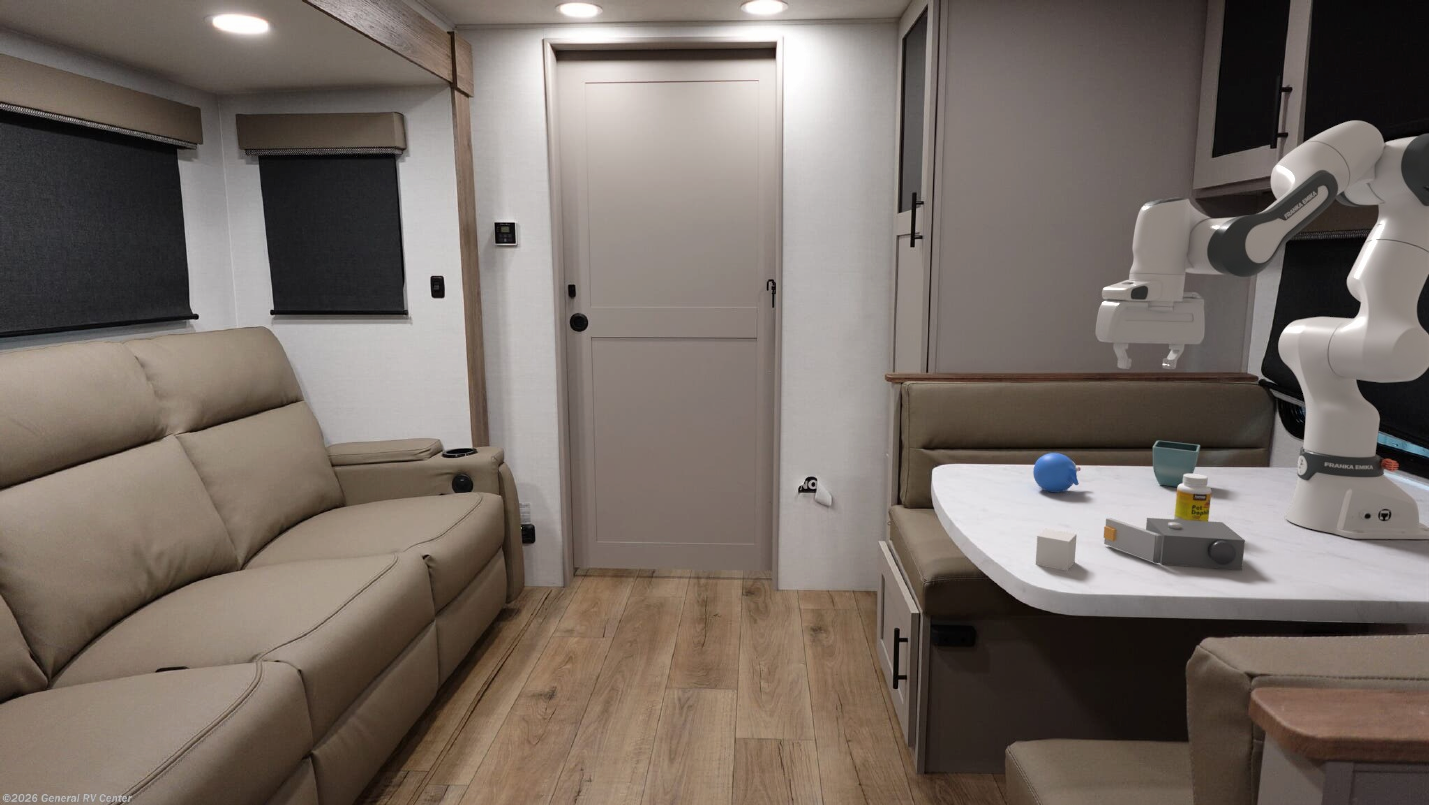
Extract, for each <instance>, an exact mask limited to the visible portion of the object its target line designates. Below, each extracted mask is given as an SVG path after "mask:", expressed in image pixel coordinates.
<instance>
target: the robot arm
mask: <svg viewBox="0 0 1429 805" xmlns="http://www.w3.org/2000/svg"><path fill="white" fill-rule="evenodd" d="M1270 187H1271V191H1272V193H1273V195H1274V197H1275V199H1276V200H1274V202H1273V203H1271V204H1270V205H1269V206H1268V207H1267V208H1265V209H1264V210H1263V211H1260V212H1258V213H1255V214H1249V215H1248V214H1247V215H1240V216H1235V217H1222V218H1221V217H1219V218H1212V217H1210V216H1208V215H1206V214H1204V213H1202V212H1201V211H1199V210H1198V209H1196V207H1194V206H1193V204H1191V201H1190V198H1187V197H1184V196H1179V197H1170V198H1161V199H1156V200H1155V199H1154V200H1150V201H1148V202H1145V203H1144V204H1143V205H1142V206H1141V208H1140V210H1139V211H1138V214H1137V217H1136V222H1135V227H1134V233H1133V239H1132V249H1131V250H1132V254H1133V262H1132V264H1131V268H1130V270H1129V277H1128V279H1126V280H1123V281H1119V282H1117V283H1114V284H1111V285H1107V286H1105V287H1103V288H1102V291H1101V298H1102V299H1103V300H1104V301H1102V302H1101V304H1100V306H1099V308H1098V310H1097V311H1098V313H1097V317H1096V324H1095V337H1096V338H1097V340H1098V341H1099V342H1102V343H1113V347H1112V348H1113V349H1112V350H1113V351H1114V353H1115V355H1116V357H1117V364H1116V365H1117V368H1119V369H1124V370H1126V369H1127V370H1128V369H1131V368H1132V362H1133V360H1132V358H1129V357H1128V354H1127V351H1126V350H1128V349H1129V344H1163V345H1164V344H1166V345H1167V344H1168V345H1169V346H1168V349H1169V350H1170V352H1169V353H1168V355H1167V357H1166V358H1165V357H1164V358H1162V365H1161V366H1162V369H1166V370H1175V369H1176V368H1177V361H1178V360H1179V358H1180V357H1181V355H1182V354H1183V353H1184V351H1185V345H1200V344H1201V343H1202V341H1203V340H1204V338H1205V332H1206V331H1205V329H1206V328H1205V327H1206V326H1205V325H1206V321H1205V319H1206V318H1205V309H1204V307H1205V299H1204V298H1203V296H1201V295H1200V294H1199V293H1198V292H1185V291H1184V289H1185V280H1186V273H1188V274H1198V275H1199V274H1200V275H1203V274H1204V275H1226V276H1234V277H1241V278H1247V277H1252V276H1255V275H1258V274H1260V273H1261V272H1263V271H1264V270H1265V269H1266V268H1268V266H1269V265H1270V264H1271V263H1272V261H1274V259H1275V258H1276V257H1277V255H1278V253H1279V252H1280V251H1281V249H1282V248H1283V247H1284V245H1286V243H1287V242H1288V241H1289V240H1291V239H1292V238H1293V237H1294V236H1295V235H1297V234H1298V233H1299V232H1300V231H1302V230H1303V229H1304V228H1306V227H1307V226H1308V225H1309V224H1310V223H1311V222H1313V221H1314V220H1315V219H1316V218H1317V217H1319V216H1320V214H1322V213H1323V212H1324V211H1326V209H1327V208H1329V207H1330V205H1331V204H1333V202H1334V201H1335V200H1336V201H1337V202H1339V203H1340V204H1341V205H1344V206H1349V207H1358V208H1359V207H1362V208H1363V207H1368V206H1375V205H1376V206H1378V216H1377V221H1376V223H1375V225H1374V226H1373V227H1372V229H1371V231H1370V233H1369V234H1368V236H1367V237H1366V240H1365V242H1364V243H1363V245H1362V247H1361V249H1360V252H1359V253H1358V256H1357V258H1356V259H1355V261H1354V263H1353V266H1352V267H1351V270H1350V272H1349V273H1348V276H1347V279H1346V286H1347V289H1348V291H1349V293H1350V295H1352V297H1354V298H1355V299H1356V300H1357V301H1359V302H1360V307H1359V311H1358V313H1357V315H1356V316H1355V317H1354V318H1353V317H1352V318H1349V317H1347V318H1346V317H1335V316H1333V317H1332V316H1331V317H1330V316H1316V317H1314V316H1313V317H1307V318H1302V319H1296V320H1293V321H1292V322H1290V323H1289V324H1288V325H1287V326H1285V328H1284V329H1283V331H1282V332H1281V334H1280V337H1279V340H1278V343H1277V344H1278V345H1277V346H1278V353H1279V357H1280V359H1281V360H1282V362H1283V363H1284V364H1285V365H1286V366H1287V367H1288V368H1289V369H1290V370H1291V371H1292V372H1293V374H1294V376H1295V377H1296V380H1297V381H1298V384H1299V385H1300V388H1301V391H1302V393H1303V394H1302V395H1303V398H1304V403H1305V404H1304V405H1305V420H1304V421H1305V425H1304V437H1303V445H1302V447H1300V449H1299V456H1298V458H1297V482H1296V486H1295V490H1294V494H1293V496H1292V499H1291V502H1290V504H1289V507H1288V508H1287V509H1288V510H1287V511H1286V513H1285V515H1284V518H1285V519H1286V520H1287V521H1289V522H1290V523H1292V524H1295V525H1298V526H1300V527H1303V528H1307V529H1309V530H1311V529H1312V530H1315V531H1319V532H1325V533H1329V534H1334V535H1338V536H1341V537H1345V538H1350V539H1355V540H1356V539H1357V540H1360V539H1361V540H1364V539H1365V540H1389V539H1390V540H1429V527H1428V526H1427V525H1424V524H1423V523H1421V522H1420V511H1419V506H1418V504H1417V502H1416V500H1415V499H1414V497H1413V496H1411V495H1410V494H1408V493H1407V492H1406V491H1405V490H1404V489H1402V488H1401V487H1400V486H1398V485H1397V484H1396V483H1394V482H1393V481H1392V480H1391V479H1390V478H1389V477H1387V476H1386V475H1385V472H1384V471H1385V470H1387V471H1388V472H1395V471H1396V470H1398V469H1399V463H1398V462H1397V461H1396V460H1392V459H1391V458H1383V457H1381V456H1380V455H1378V454H1376V452H1377V451H1376V450H1377V444H1378V437H1379V430H1380V429H1379V428H1380V420H1381V418H1380V414H1379V411H1378V410H1377V408H1376V407H1375V406H1374V405H1373V404H1372V403H1371V402H1369V401H1368V400H1366V399H1365V398H1364V397H1363V395H1362V393H1361V392H1360V390H1359V387H1358V383H1357V380H1358V381H1359V380H1360V381H1366V382H1376V383H1383V384H1384V383H1399V382H1411V381H1414V380H1416V379H1418V378H1419V377H1421V376H1422V375H1423V374H1424V373H1425V372H1426V371H1427V370H1428V369H1429V333H1428V332H1427V331H1426V330H1425V329H1424V328H1423V326H1422V325H1421V324H1420V321H1419V317H1418V301H1419V297H1420V295H1421V292H1422V291H1423V288H1424V285H1425V283H1426V281H1427V278H1428V277H1429V133H1423V134H1420V135H1418V136H1410V137H1409V136H1408V137H1403V138H1397V139H1394V140H1389V141H1386V142H1385V141H1384V138H1383V135H1382V133H1381V132H1380V131H1379V129H1378V128H1377V127H1375V126H1374V125H1373V124H1371V123H1368V122H1366V121H1363V120H1350V121H1349V120H1348V121H1345V122H1343V123H1339V124H1338V125H1335V126H1333V127H1331V128H1328V129H1326V130H1324V131H1322V132H1320V133H1318V134H1316V135H1314V136H1312V137H1310V138H1309V139H1308V140H1306V141H1304V142H1303V143H1301V144H1299V145H1298V146H1296V147H1295V148H1294V149H1292V150H1290V152H1288V153H1287V154H1285V156H1283V157H1282V158H1281V159H1280V160H1279V161H1278V162H1277V163H1276V164H1275V166H1274V167H1273V168H1272V170H1271V176H1270Z"/></svg>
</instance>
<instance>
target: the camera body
mask: <svg viewBox="0 0 1429 805" xmlns="http://www.w3.org/2000/svg"><path fill="white" fill-rule="evenodd" d="M1145 525H1146V527H1145V530H1148V531H1151V532H1154V533H1157V534H1160V535H1162V548H1161V559H1160V563H1159V564H1160V565H1163V566H1165V565H1166V566H1175V567H1176V566H1180V567H1190V568H1191V567H1194V568H1207V569H1208V568H1209V569H1222V570H1223V569H1224V570H1234V571H1235V570H1237V571H1238V570H1239V571H1242V570H1243V560H1244V552H1245V543H1246V539H1244V538H1243V537H1241V536H1240V535H1239V534H1238V533H1236V531H1234V530H1233V529H1232V528H1230V527H1229V526H1227V525H1226V524H1225V523H1224V522H1223V521H1210V520H1208V521H1193V520H1176V519H1173V518H1154V517H1146V524H1145Z"/></svg>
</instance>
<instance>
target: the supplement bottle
mask: <svg viewBox="0 0 1429 805" xmlns="http://www.w3.org/2000/svg"><path fill="white" fill-rule="evenodd" d="M1208 479H1209V478H1208V476H1207V475H1204V474H1198V473H1193V474H1184V475H1183V483H1182V484H1179V485H1178V487H1176V498H1175V505H1174V506H1175V509H1174V516H1173V517H1174V519H1176V520H1193V521H1209V519H1210V518H1209V517H1210V510H1211V509H1210V507H1211V498H1212V489H1211V487H1209V486H1208V483H1209V482H1208Z"/></svg>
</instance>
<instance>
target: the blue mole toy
mask: <svg viewBox="0 0 1429 805" xmlns="http://www.w3.org/2000/svg"><path fill="white" fill-rule="evenodd" d="M1081 469H1082V468H1081V467H1080V466H1077V464H1076V463H1075V462H1074V461H1073V460H1072V459H1071V458H1070V457H1068V456H1067V455H1064V454H1062V453H1058V452H1049V453H1046V454H1043V455H1042V456H1040V457H1038V459H1037V460H1036V461H1035V463H1034V466H1033V471H1032V473H1033V478H1034V481H1035V483H1036V484H1037V486H1038V487H1040V488H1041V490H1044V491H1046V492H1049V493H1050V492H1051V493H1061V492H1065V491H1067V490H1069V489H1070V488H1071V487H1072V486H1073V485H1075V486H1078V485H1079V484H1080V482H1079V480H1078V478H1077V477H1078V475H1077V473H1078V472H1079V471H1081Z"/></svg>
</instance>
